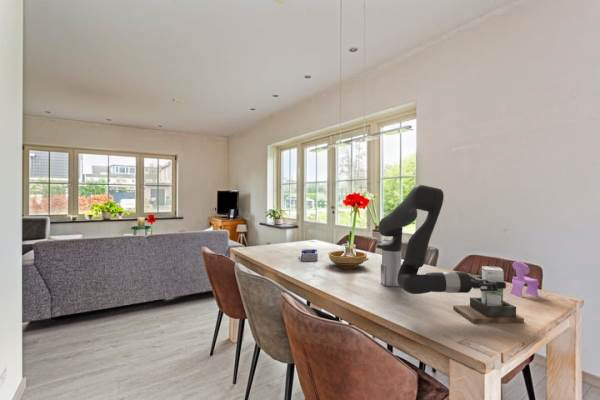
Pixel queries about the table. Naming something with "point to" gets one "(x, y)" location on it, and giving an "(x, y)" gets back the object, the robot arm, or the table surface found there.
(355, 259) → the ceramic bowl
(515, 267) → the toy chair
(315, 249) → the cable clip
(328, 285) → the table surface
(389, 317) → the table surface
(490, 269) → the syrup box
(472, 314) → the socket block
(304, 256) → the desk tidy
